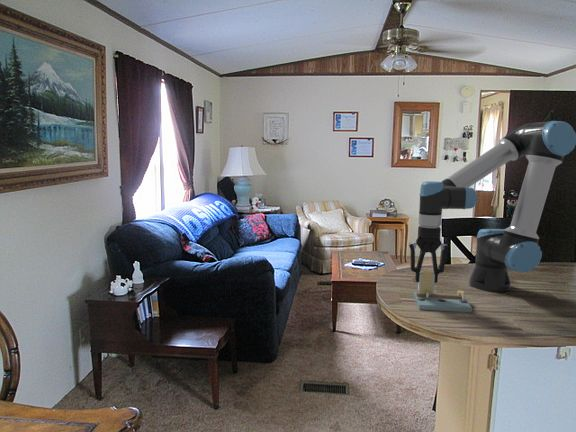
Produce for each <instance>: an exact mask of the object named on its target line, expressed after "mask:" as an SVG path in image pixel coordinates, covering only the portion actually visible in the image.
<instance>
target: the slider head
mask: <svg viewBox="0 0 576 432" xmlns="http://www.w3.org/2000/svg"><path fill="white" fill-rule="evenodd" d="M420 272H421V273H422V284H421V292H420V293H421V294H426V299H429V295H432V282H433V273H434V271H433V270H432V269H422V268H421V271H420Z"/></svg>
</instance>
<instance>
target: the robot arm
mask: <svg viewBox="0 0 576 432" xmlns="http://www.w3.org/2000/svg"><path fill="white" fill-rule="evenodd" d="M575 147H576V131H575V130H574V128H573V126H572V125H571V124H569V123H568V122H566V121H561V120H559V121H558V120H550V121H539V122H536V121H535V122H530V123H527V124H524V125H522V126H520V127H518V128H516V129H515V130H513V131H511V132H510V133H508V134H507V135H505V136H504V137H502V138H500V139H499V140H498V144H496V145H495V146H493V147H492V148H491V149H489V150H486V152H484V153H483V154H481V155H479V156H478V157H477V158H475V159H474V160H472V161H470V162H469V163H468V164H466V165H465V166H463V167H461V168H460V169H459V170H457V171H455V172H454V173H453V174H451V175H449V176H448V177H446V178H445V179H443V180H442V181H428V180H427V181H423V182H422V183H421V185H420V190H419V191H420V193H419V207H418V208H419V209H418V210H419V211H418V212H419V213H418V225H419V226H418V228H417V239H415V241H414V242H409V243H408V247H409V249H410V250H409V251H410V255H409V256H410V270H411V272H414V273H415V277H414V279H415V282H416V283H417V292H421V284H422V273H421V269H422V266H423V262H424V258H425V255H426V254H427V253H430V255H431V262H432V269H433V270H432V272H433V282H432V293H435V284H437V283H438V277H439V274H441V273H442V274H443V273H444V272H445V263H446V257H447V256H446V255H447V251H448V249H449V245H448V244H447V243H446V244H445V243H443V242H442V241H441V230H442V229H441V226H442V216H443V214H442V212H443V210H468V209H474V208H475V206H476V205H477V201H478V195H477V191H476V190H475V188H473V187H472V186H473V185H475V184H476V183H478V182H479V181H481V180H482V179H484V178H486V177H487V176H488V175H490V174H492V173H494V172H495V171H496V170H497V169H499V168H501V167H502V166H504V165H506V164H507V163H508V162H510V161H512V162H513V161H514V162H515V161H517V160H518V159H520V158H522V157H524V156H525V158H526V159H527V161H528V164H527V167H526V171H525V174H524V177H523V181H522V184H521V187H520V188H521V189H520V191H519V195H518V197H517V198H518V199H517V202H516V205H515V208H514V211H513V216H512V218H511V222H510V225H509V226H508V227H506V228H503V229H502V228H481V229H479V231H478V232H477V235H476V251H475V263H474V268H473V269H472V272H471V274H470V276H469V278H468V279H469V282H468V284H469V286H471V287H472V288H475V289H478V290H480V291H487V292H494V293H501V292H507V291H510V290H511V288H512V281H511V278H510V275H509V271H508V269H509V270H510V271H512V272H513V271H514V272H517V273H528V272H531V271H532V270H535V268H536V267H537V266H538V265H539V263H540V262H541V261H542V257H543V251H542V250H541V247H540V246H539V240H540V237H539V235H538V233H537V230H538V227H539V224H540V220H541V217H542V213H543V211H544V207H545V203H546V200H547V198H548V197H547V196H548V193H549V191H550V187H551V183H552V181H553V177H554V175H555V174H554V173H555V170H556V168H557V167H558V166H559V165H561V164H563V161H564V158H565V156H567V155H569V154H570V153H571V152H572V151H573V150H574V149H575ZM417 246H418V248H419V250H420V251H419V255H418V260H417V262H416V251H415V249H416V248H417ZM439 248H440V249H441V251H440V257H439V263H438V261H437V252H436V251H437V250H438V249H439ZM438 264H439V266H438Z"/></svg>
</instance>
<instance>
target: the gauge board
mask: <svg viewBox="0 0 576 432" xmlns="http://www.w3.org/2000/svg"><path fill="white" fill-rule="evenodd" d="M412 292H413V294H412V297H413V298H414V301H415V303H416V305H417V307H418V308H417V309H418V310H422V311H423V310H426V311H442V312H443V311H444V312H460V313H461V312H462V313H473V307H472V305H471V304H470V303H469V301H467V299H466V292H465V291H464V290H457V291H456V293H444V292H434V293H432V295H429V299H426V294H421V293H420V292H419V291H412Z"/></svg>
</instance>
